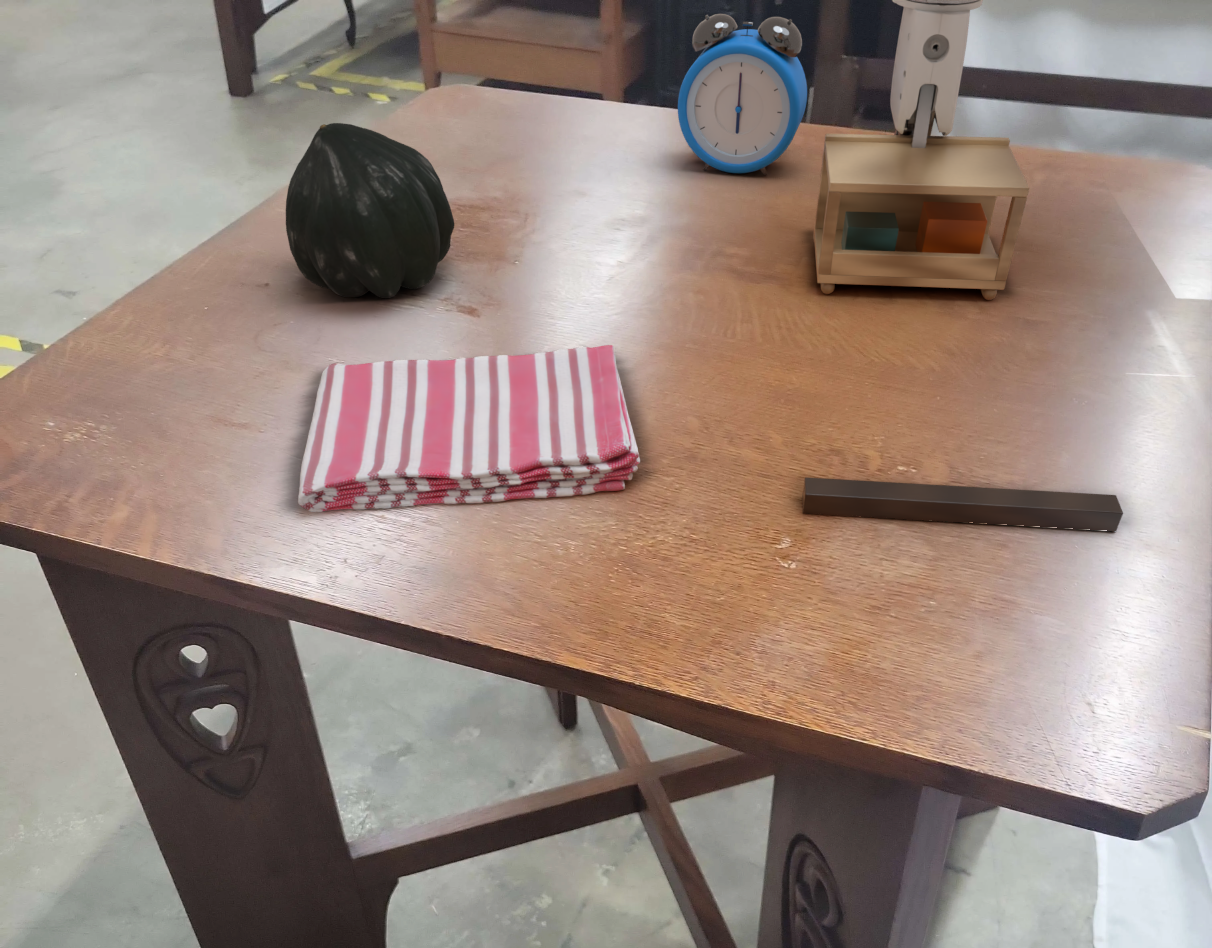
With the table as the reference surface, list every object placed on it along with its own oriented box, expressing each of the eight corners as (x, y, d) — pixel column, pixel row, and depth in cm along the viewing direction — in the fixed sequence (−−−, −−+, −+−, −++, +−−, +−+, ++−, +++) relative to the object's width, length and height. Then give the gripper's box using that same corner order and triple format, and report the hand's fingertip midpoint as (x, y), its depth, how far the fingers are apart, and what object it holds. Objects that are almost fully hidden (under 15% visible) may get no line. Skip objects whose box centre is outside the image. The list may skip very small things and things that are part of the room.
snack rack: (982, 251, 100) (1008, 137, 93) (1001, 302, 92) (1031, 182, 85) (812, 245, 102) (825, 133, 95) (815, 296, 94) (830, 177, 87)
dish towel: (643, 492, 72) (643, 449, 70) (297, 518, 71) (286, 475, 68) (615, 368, 85) (614, 328, 83) (321, 388, 83) (312, 347, 81)
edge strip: (1108, 514, 70) (1116, 494, 69) (1116, 532, 68) (1123, 512, 67) (802, 496, 72) (804, 476, 71) (802, 513, 70) (805, 494, 69)
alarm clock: (674, 171, 117) (678, 20, 107) (687, 152, 122) (692, 5, 112) (792, 181, 114) (808, 27, 104) (801, 161, 119) (816, 12, 109)
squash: (483, 185, 100) (355, 62, 92) (481, 259, 89) (337, 126, 81) (385, 283, 106) (258, 176, 98) (373, 363, 95) (228, 249, 87)
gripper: (998, 5, 83) (948, 233, 95) (974, -37, 94) (932, 173, 106) (901, 2, 84) (864, 229, 96) (888, -39, 95) (856, 169, 107)
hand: (900, 199), depth 101 cm, fingers closed
